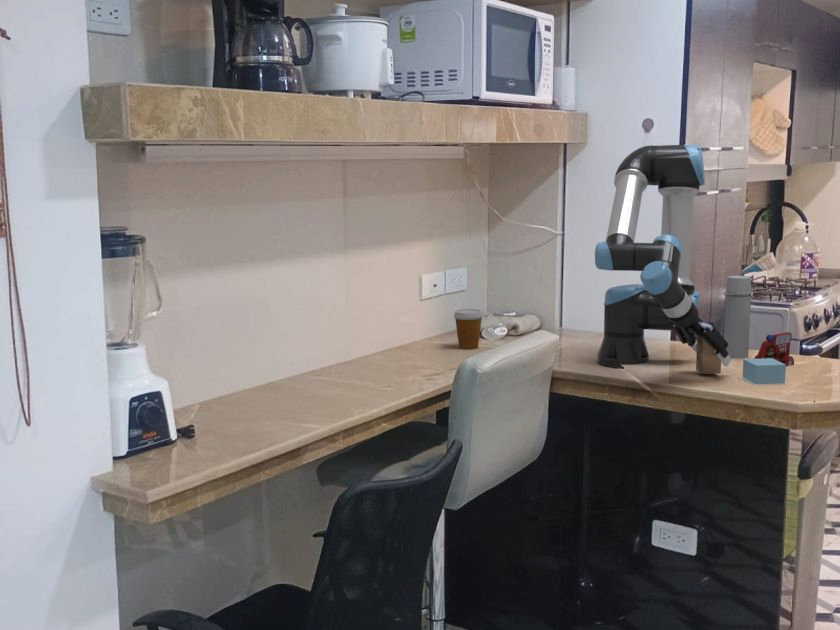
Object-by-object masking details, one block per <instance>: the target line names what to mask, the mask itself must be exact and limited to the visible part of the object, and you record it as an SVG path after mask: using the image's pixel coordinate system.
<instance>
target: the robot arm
mask: <svg viewBox="0 0 840 630" xmlns="http://www.w3.org/2000/svg"><path fill="white" fill-rule="evenodd" d="M703 157H704V156H703V150H702V148H701V147H700V146H699V145H697V144H696V145H695V144H694V145H693V144H669V145H667V144H663V145H653V144H652V145H645V146H644V145H643V146H641V147H639V148H637V149H635V150H634V151H632V152H630V154H628V155H627V156H625V158H624V159H623V160H622V162H620V164H619V166H618V167H617V169H616V172H615V175H614V181H613V184H614V187H615V193H614V198H613V203H612V207H611V208H612V209H611V213H610V219H609V223H608V228H607V232H606V238H605V241H601V242H598V243H597V244H596V245H595V250H594V264H595V267H596V268H597V269H598V270H602V271H611V272H612V271H620V272H622V271H627V272H629V271H630V272H631V271H632V272H633V271H635V272H640V275H639V277H640V281H641V284H639V283H636V284H635V283H634V284H622V285H617V286H612V287H610V288H608V289H607V290H606V291H605V295H604V303H603V306H604V311H603V313H604V315H603V317H604V320H603V338H602V340H601V344H600V346H599V350H598V352H597V363H598V364H599V365H601V366H605V367H611V368H620V369H624V368H625V367H624V365H625V366H626V365H627V366H628V365H642V364H646V363H648V362H650V354H649V351H648V347H647V344H646V341H645V330H649V331H651V330H652V331H670V332H671V331H673V332H674V333H675V334H676V336H677V338H678V339H679V340H680V342H681V344H683V345H686V344H687V346H689V347H690V348H691V349H692V350H693V351H694V352H695V354H697V336H698V337H701V338H702V339H703V340H705V341H706V342H707V343H708V344H709V345H710V346H711V347H712V348H714V349H715V354H716V355H717V356H718V358H719V359H720V360H721V364H723V366H724V367H728V366H729V364H730V363H731V361H732V359H733V358H731V357H730V355H729V354H728V352H727V350H726V348H727V346H728V345H729V344H728V343H727V341H726V340H725V339H724V336H723V334H722V335H721V334H720V331H718V330H717V328H716V327H715V324H714V323H713V322H711V321H709V322H708V323H706V322H704V320H702V319H701V318H700V317H699V316H700V315H699V310H698V307H699V303H700V302H699V300H700V292H699V291H698V290H695V287H696V286H695V284H694V283H693V282H692V281H691V279H690V277H691V276H690V275H691V257H692V254H691V253H692V252H691V251H692V236H693V235H692V234H693V233H692V232H693V216H694V215H693V214H694V212H693V211H694V198H695V196H697V194H699V193H700V187H702V186H704V185H705V184H706V181H705V168H704V158H703ZM648 186H657V188H658V189H657V192H658V193H659V194H660V195H661V197H662V209H661V210H662V212H661V228H660V229H661V230H660V231H661V232H660V235H659V236H658V235H657V236H656V237H655V238H654V239H653V241H652V242H635V239H636V234H637V226H638V221H639V216H640V211H641V209H640V208H641V205H642V204H641V203H642V198H643V192H645V191H646V189H647V187H648ZM622 365H623V366H622Z"/></svg>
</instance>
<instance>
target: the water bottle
mask: <svg viewBox="0 0 840 630" xmlns="http://www.w3.org/2000/svg"><path fill="white" fill-rule="evenodd" d="M722 295H724V303H723V304H724V306H723V312H722V319H721V326H720V331H719V333H720V334H721V335H722V336H723V338H724V339H725V340H726V341H727V343H728V344H729V345H728V346H727V348H726V350H727V352H728V354H729V355H730V357H731V358H732V359H749V351H750V350H749V349H750V348H749V347H750V328H751V325H750V324H751V307H752V306H751V304H752V303H751V302H752V296H751V295H752V278H751V276H745V275H729V276H727V279H726V287H725V292H723V293H722ZM723 330H724V331H723ZM723 332H724V333H723Z"/></svg>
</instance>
